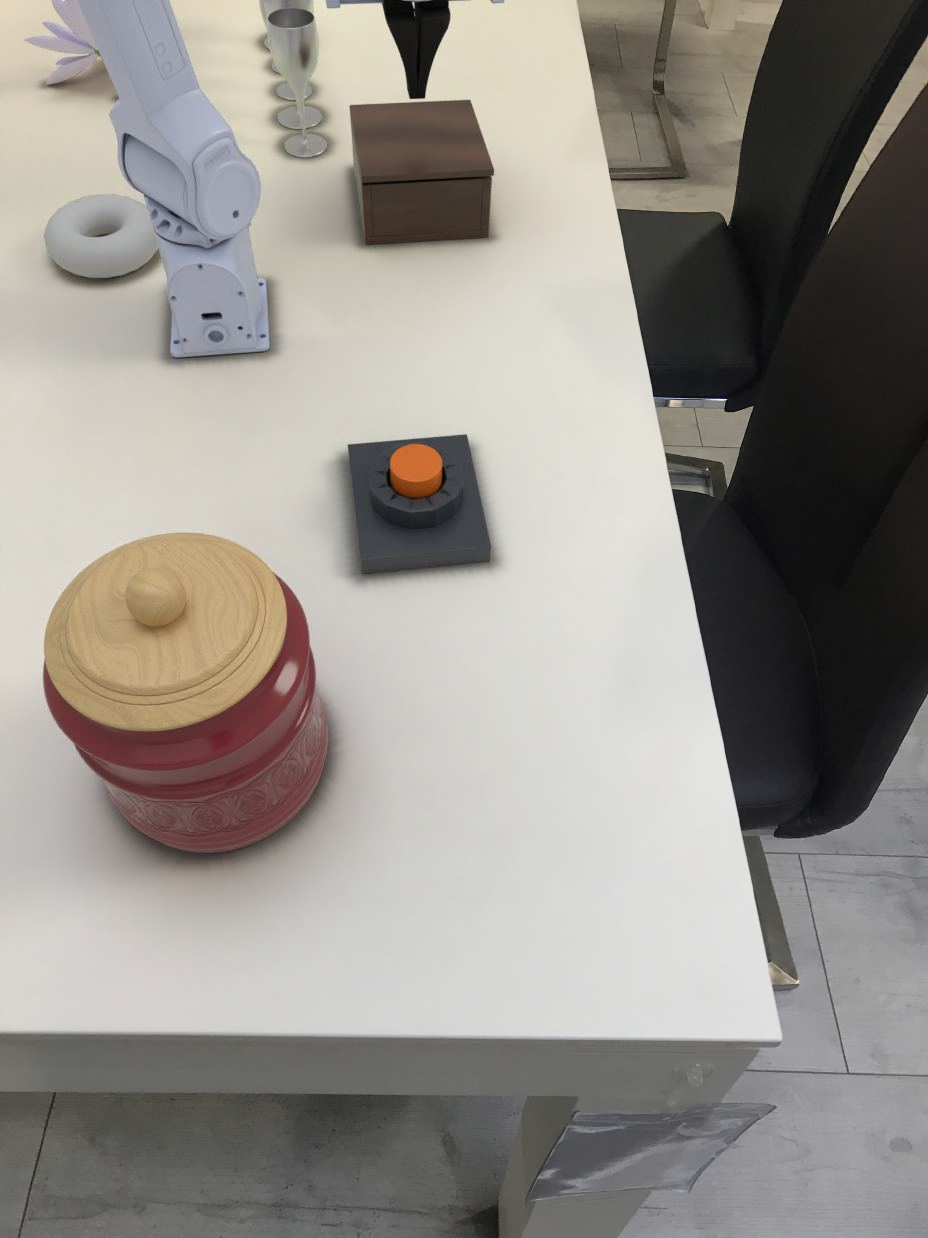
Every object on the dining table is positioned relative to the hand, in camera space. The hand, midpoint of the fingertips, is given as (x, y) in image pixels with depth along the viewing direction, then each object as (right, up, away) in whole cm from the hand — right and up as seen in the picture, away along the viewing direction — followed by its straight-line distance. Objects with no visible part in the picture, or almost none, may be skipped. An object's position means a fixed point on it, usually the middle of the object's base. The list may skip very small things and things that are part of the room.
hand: (416, 93), depth 81 cm
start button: (+1, -37, -16) cm, 40 cm away
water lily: (-35, +13, +20) cm, 42 cm away
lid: (0, -3, +3) cm, 4 cm away
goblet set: (-14, +12, +20) cm, 27 cm away
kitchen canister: (-10, -55, -25) cm, 61 cm away
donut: (-28, -13, +2) cm, 31 cm away
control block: (+1, -38, -14) cm, 41 cm away
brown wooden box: (0, -6, +8) cm, 10 cm away
